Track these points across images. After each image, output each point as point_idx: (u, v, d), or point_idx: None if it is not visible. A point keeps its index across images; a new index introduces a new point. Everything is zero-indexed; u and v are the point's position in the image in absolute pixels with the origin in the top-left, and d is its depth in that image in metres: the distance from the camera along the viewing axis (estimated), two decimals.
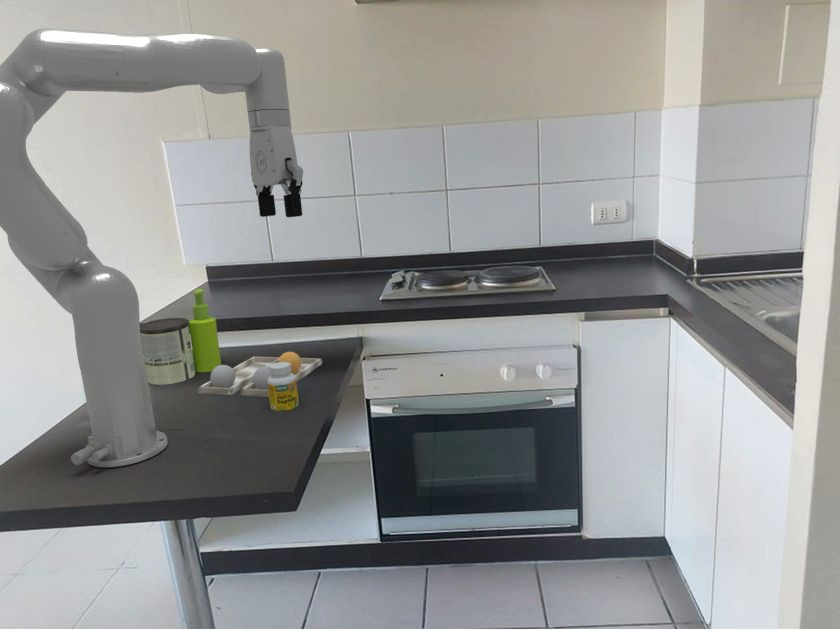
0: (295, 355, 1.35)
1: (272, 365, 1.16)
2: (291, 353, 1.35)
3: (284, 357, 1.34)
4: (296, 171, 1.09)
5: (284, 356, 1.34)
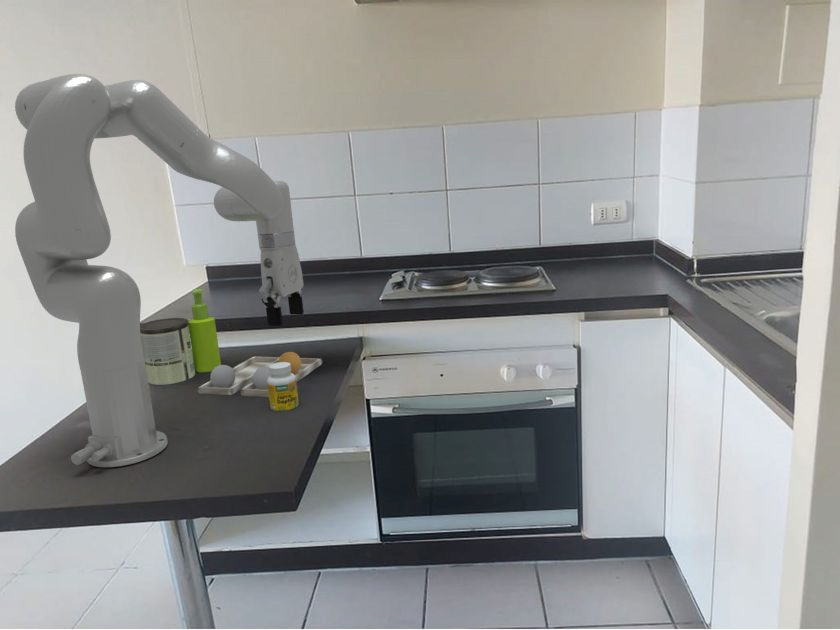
0: (295, 355, 1.35)
1: (272, 365, 1.16)
2: (291, 353, 1.35)
3: (284, 357, 1.34)
4: (302, 276, 1.40)
5: (284, 356, 1.34)
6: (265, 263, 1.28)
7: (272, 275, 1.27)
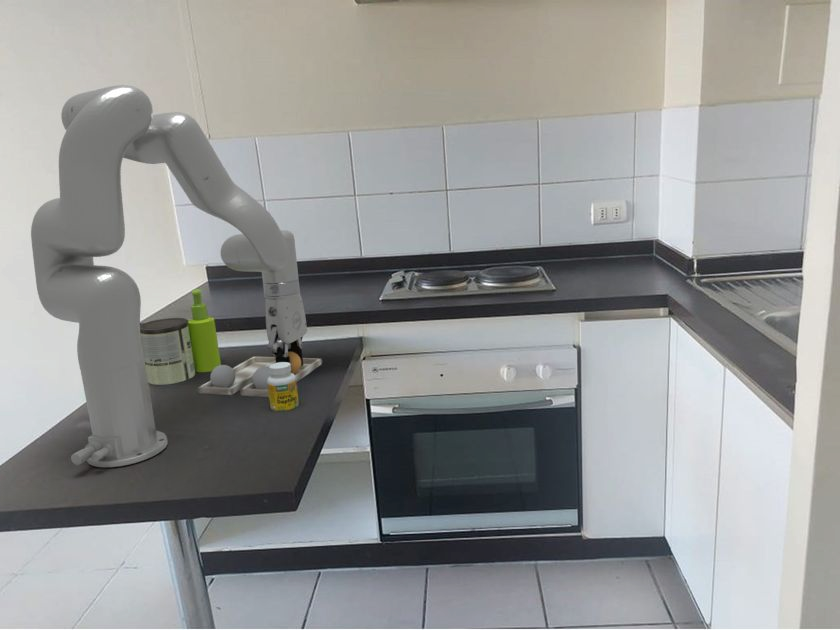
0: (295, 355, 1.35)
1: (272, 365, 1.16)
2: (291, 353, 1.35)
3: None
4: None
5: None
6: (270, 311, 1.30)
7: (276, 323, 1.29)
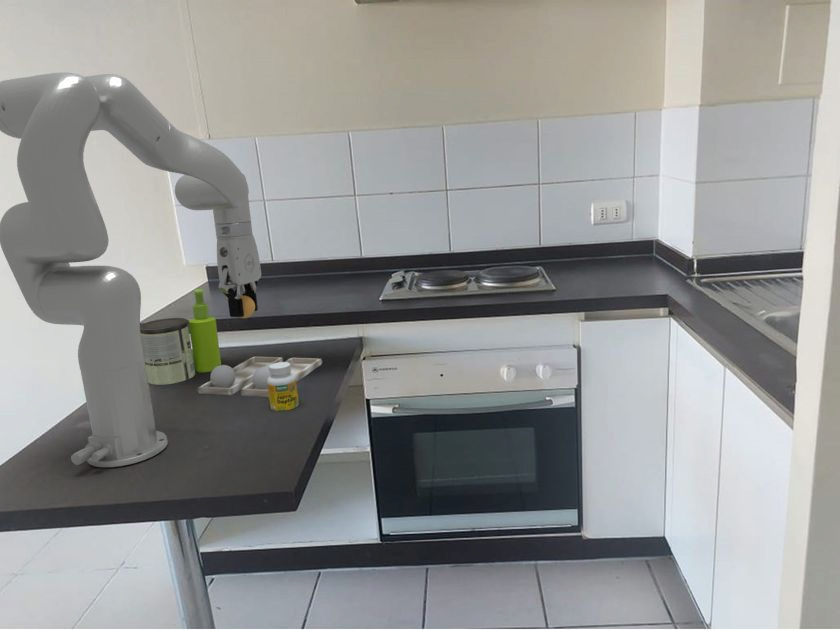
0: (248, 298, 1.35)
1: (272, 365, 1.16)
2: (244, 296, 1.35)
3: None
4: None
5: None
6: (221, 252, 1.30)
7: (227, 264, 1.29)
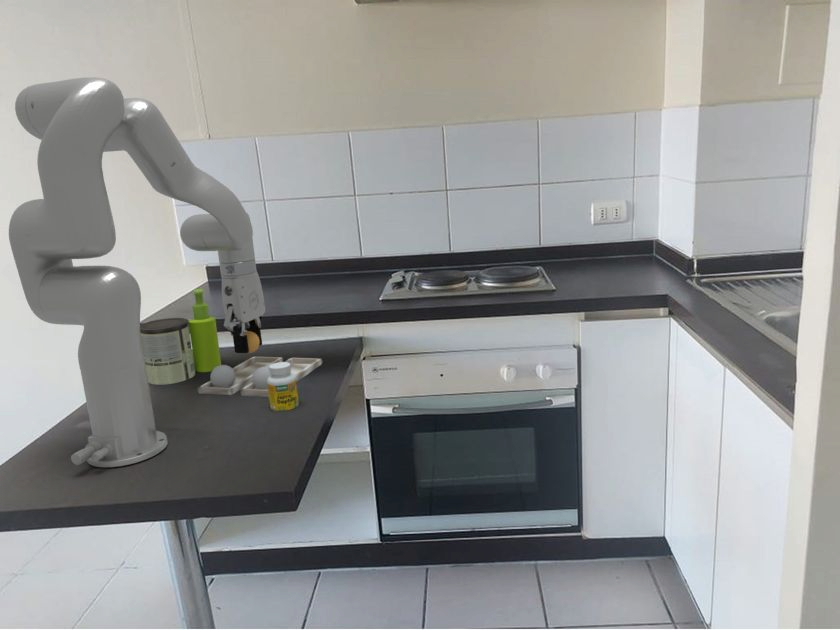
0: (253, 334, 1.37)
1: (272, 365, 1.16)
2: (249, 332, 1.37)
3: None
4: None
5: None
6: (226, 290, 1.32)
7: (232, 302, 1.31)
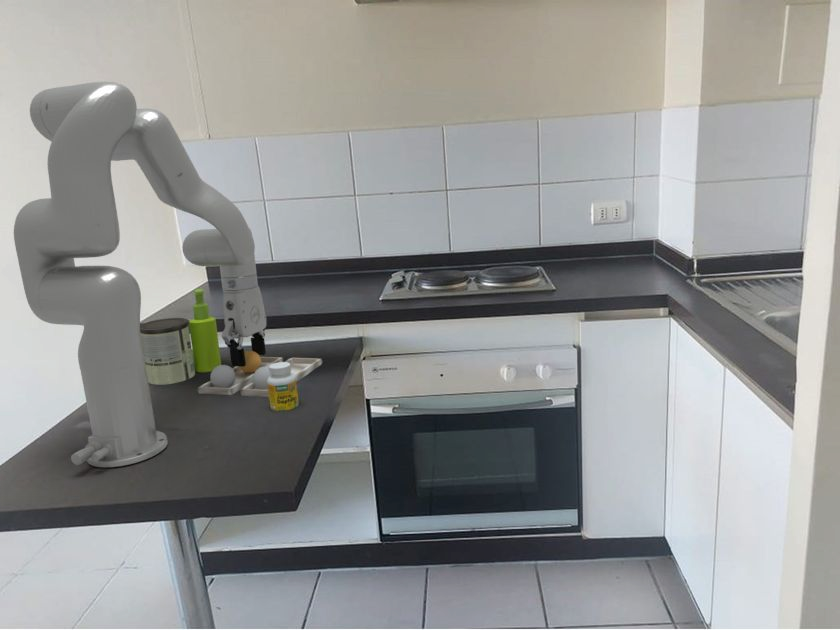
0: (255, 354, 1.38)
1: (272, 365, 1.16)
2: (251, 352, 1.38)
3: None
4: (265, 318, 1.45)
5: None
6: (227, 305, 1.32)
7: (234, 317, 1.32)
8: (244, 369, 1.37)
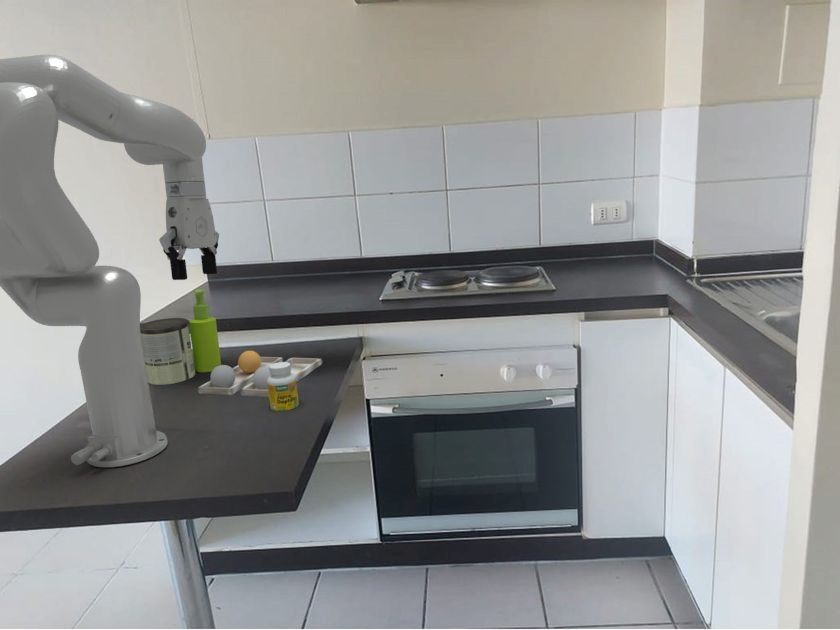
0: (255, 354, 1.38)
1: (272, 365, 1.16)
2: (251, 352, 1.38)
3: (244, 356, 1.37)
4: (218, 235, 1.34)
5: (244, 354, 1.37)
6: (170, 213, 1.22)
7: (176, 225, 1.21)
8: (244, 369, 1.37)
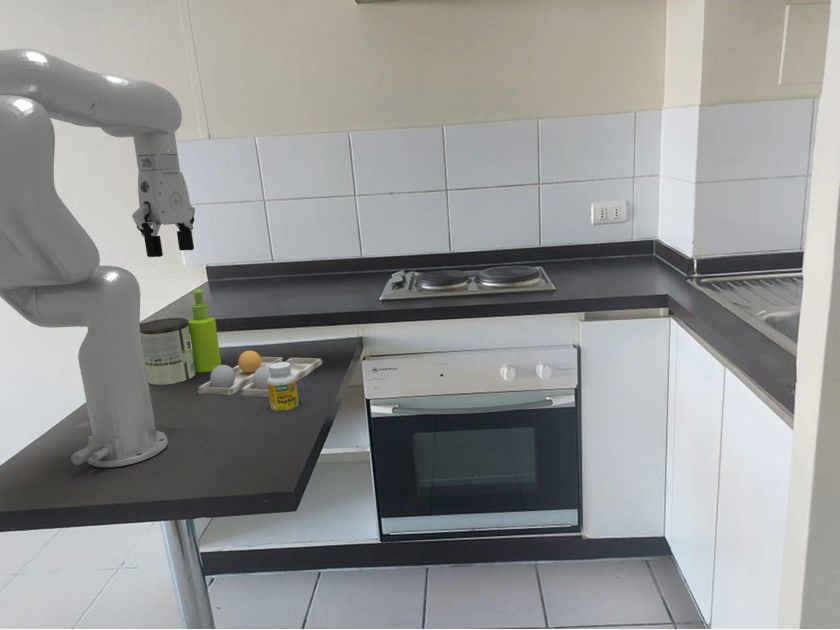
0: (255, 354, 1.38)
1: (272, 365, 1.16)
2: (251, 352, 1.38)
3: (244, 355, 1.37)
4: (194, 209, 1.30)
5: (244, 354, 1.37)
6: (143, 187, 1.17)
7: (149, 200, 1.17)
8: (244, 368, 1.37)
